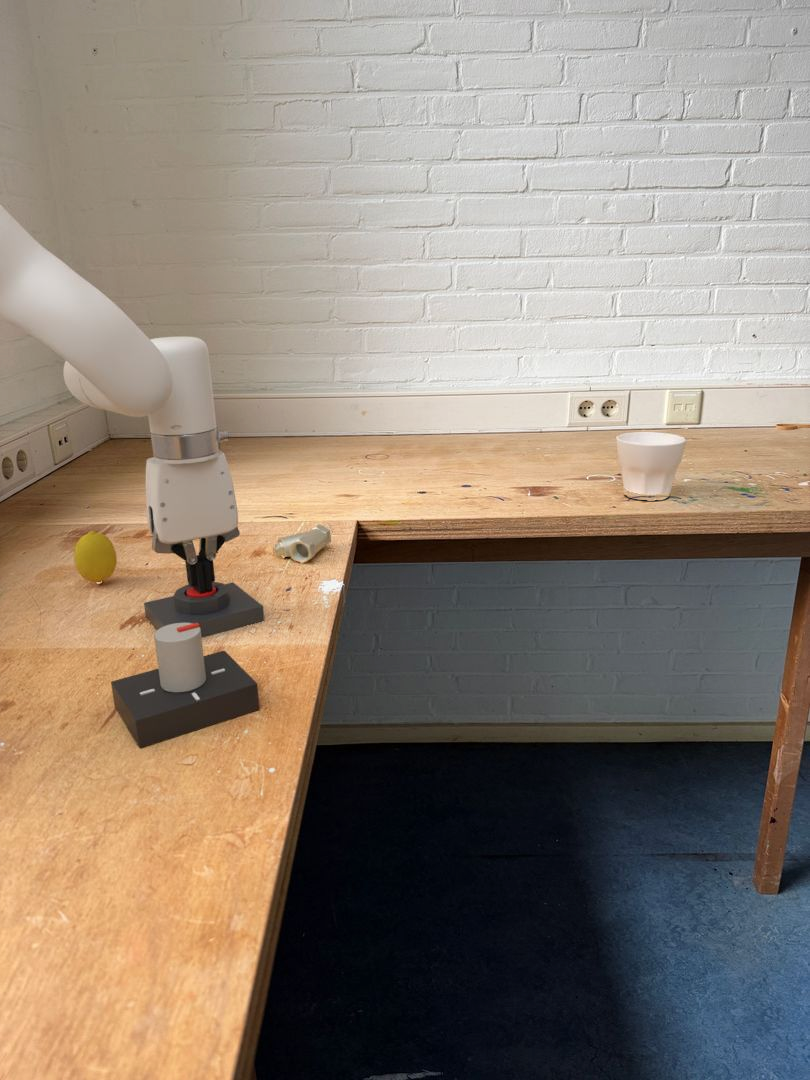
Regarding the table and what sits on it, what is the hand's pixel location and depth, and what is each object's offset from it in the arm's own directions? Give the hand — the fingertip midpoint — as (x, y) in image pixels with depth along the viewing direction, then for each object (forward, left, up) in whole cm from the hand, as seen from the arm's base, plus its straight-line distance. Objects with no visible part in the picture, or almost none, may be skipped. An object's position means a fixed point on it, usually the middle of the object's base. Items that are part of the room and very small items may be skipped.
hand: (202, 588), depth 100 cm
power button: (0, 0, -2) cm, 2 cm away
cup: (+89, +6, -4) cm, 89 cm away
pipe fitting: (+21, +15, -4) cm, 26 cm away
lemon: (-8, +21, -4) cm, 23 cm away
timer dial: (-9, -20, -1) cm, 22 cm away
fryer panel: (-9, -20, -4) cm, 22 cm away
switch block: (0, 0, -4) cm, 4 cm away
